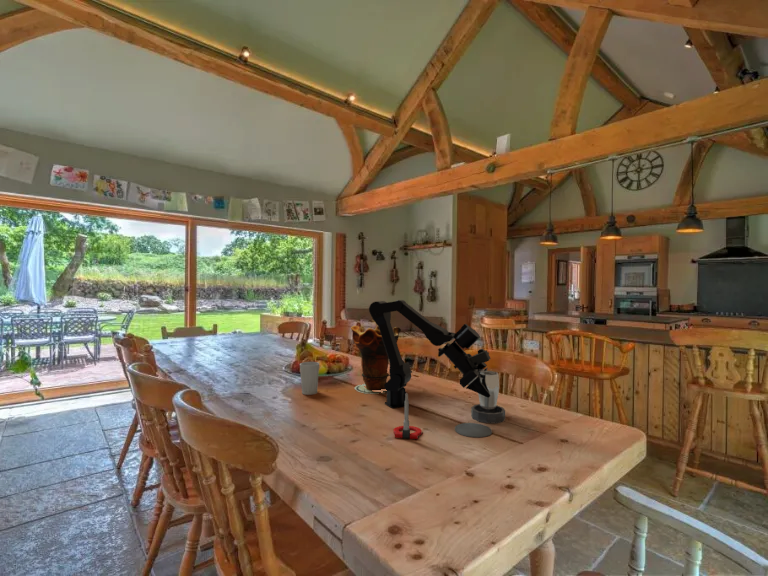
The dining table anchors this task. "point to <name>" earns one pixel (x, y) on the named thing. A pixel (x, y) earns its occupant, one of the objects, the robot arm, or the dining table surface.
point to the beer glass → (492, 386)
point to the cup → (309, 377)
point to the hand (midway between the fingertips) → (491, 393)
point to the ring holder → (488, 415)
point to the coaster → (473, 430)
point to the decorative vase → (372, 358)
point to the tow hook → (407, 425)
